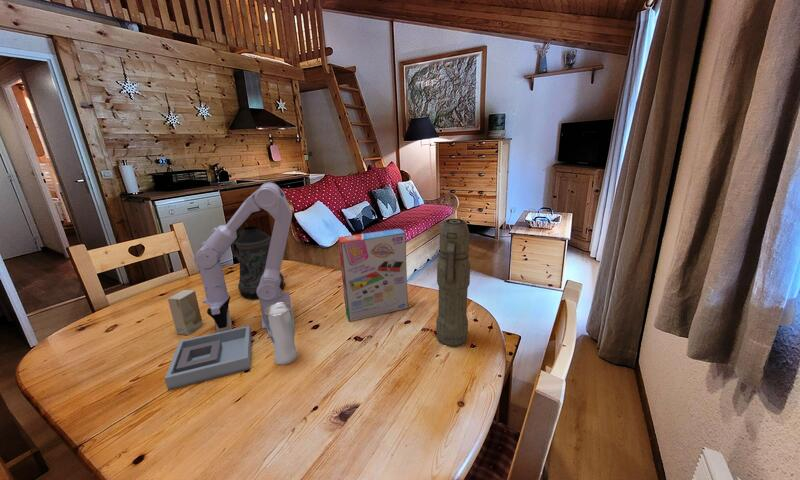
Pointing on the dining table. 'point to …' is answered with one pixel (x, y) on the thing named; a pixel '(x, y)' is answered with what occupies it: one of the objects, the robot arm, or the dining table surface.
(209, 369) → the inlet box
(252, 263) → the beer stein
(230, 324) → the plug
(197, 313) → the skincare box
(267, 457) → the dining table surface
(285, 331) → the beer glass
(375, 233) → the game box
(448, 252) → the thermos
